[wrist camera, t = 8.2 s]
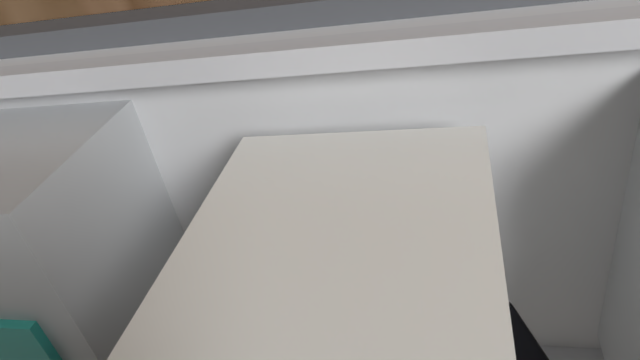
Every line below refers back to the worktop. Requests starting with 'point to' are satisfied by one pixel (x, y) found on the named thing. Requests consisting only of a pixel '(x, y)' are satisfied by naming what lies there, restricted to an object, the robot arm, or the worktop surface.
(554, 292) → the rail board
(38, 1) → the worktop surface
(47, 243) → the block
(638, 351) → the block
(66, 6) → the worktop surface
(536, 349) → the robot arm
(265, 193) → the block
